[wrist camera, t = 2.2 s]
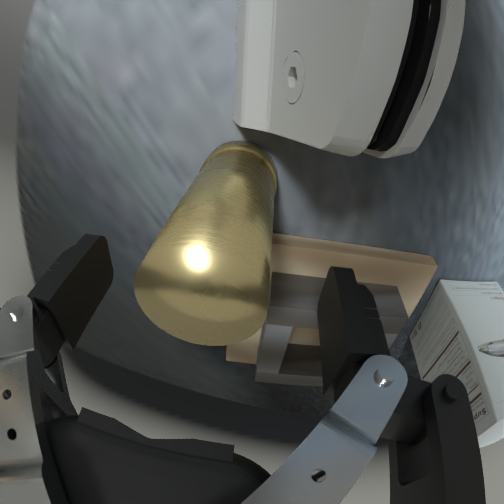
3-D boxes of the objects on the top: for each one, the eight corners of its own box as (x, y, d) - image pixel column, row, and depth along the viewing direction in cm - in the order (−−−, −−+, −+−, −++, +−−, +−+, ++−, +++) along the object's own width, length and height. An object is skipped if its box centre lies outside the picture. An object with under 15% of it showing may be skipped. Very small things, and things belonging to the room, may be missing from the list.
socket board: (235, 228, 18) (225, 270, 15) (431, 256, 18) (454, 296, 15) (227, 349, 26) (221, 388, 23) (370, 361, 26) (377, 397, 22)
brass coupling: (205, 137, 15) (119, 235, 7) (281, 145, 15) (282, 255, 7) (203, 204, 18) (143, 335, 10) (272, 212, 18) (262, 354, 10)
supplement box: (497, 278, 19) (557, 395, 9) (463, 334, 23) (498, 442, 13) (438, 275, 19) (499, 422, 9) (405, 337, 24) (434, 464, 13)
